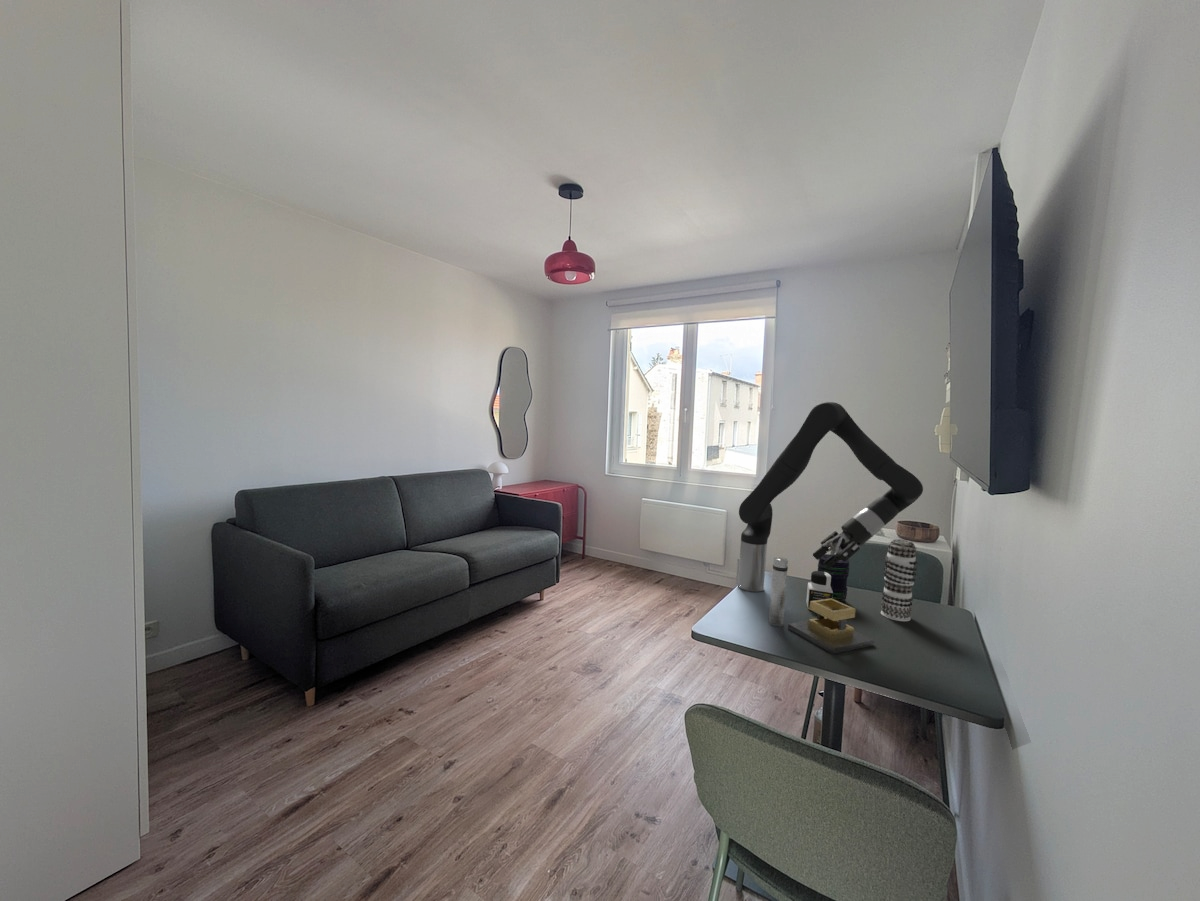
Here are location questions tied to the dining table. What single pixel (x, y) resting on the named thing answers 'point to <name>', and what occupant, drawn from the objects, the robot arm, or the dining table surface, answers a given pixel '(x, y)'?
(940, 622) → the dining table surface
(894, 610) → the decorative candle
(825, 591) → the medicine bottle
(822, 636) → the collar stand
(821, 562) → the storage jar
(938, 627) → the dining table surface
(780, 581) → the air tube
